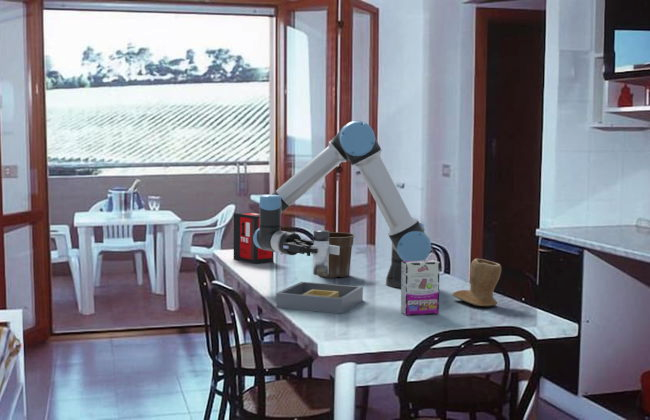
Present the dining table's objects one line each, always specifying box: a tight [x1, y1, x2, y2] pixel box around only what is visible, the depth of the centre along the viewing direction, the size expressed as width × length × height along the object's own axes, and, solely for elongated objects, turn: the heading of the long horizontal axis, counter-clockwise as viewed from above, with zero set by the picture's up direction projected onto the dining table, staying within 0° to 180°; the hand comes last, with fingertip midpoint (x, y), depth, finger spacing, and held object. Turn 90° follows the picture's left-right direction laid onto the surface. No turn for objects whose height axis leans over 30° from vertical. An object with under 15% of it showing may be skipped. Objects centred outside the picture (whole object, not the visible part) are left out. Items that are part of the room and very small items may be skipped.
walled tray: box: [275, 281, 364, 314], centre depth 265 cm, size 22×22×4 cm
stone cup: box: [452, 258, 502, 307], centre depth 269 cm, size 15×12×15 cm
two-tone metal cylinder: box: [312, 229, 330, 276], centre depth 264 cm, size 5×5×14 cm
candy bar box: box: [400, 259, 441, 316], centre depth 253 cm, size 11×5×16 cm, turn 105°
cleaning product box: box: [233, 211, 274, 265], centre depth 349 cm, size 16×9×20 cm, turn 42°
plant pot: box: [312, 231, 356, 279], centre depth 317 cm, size 16×16×16 cm
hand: (331, 251), depth 260 cm, fingers closed on two-tone metal cylinder, 5 cm apart
